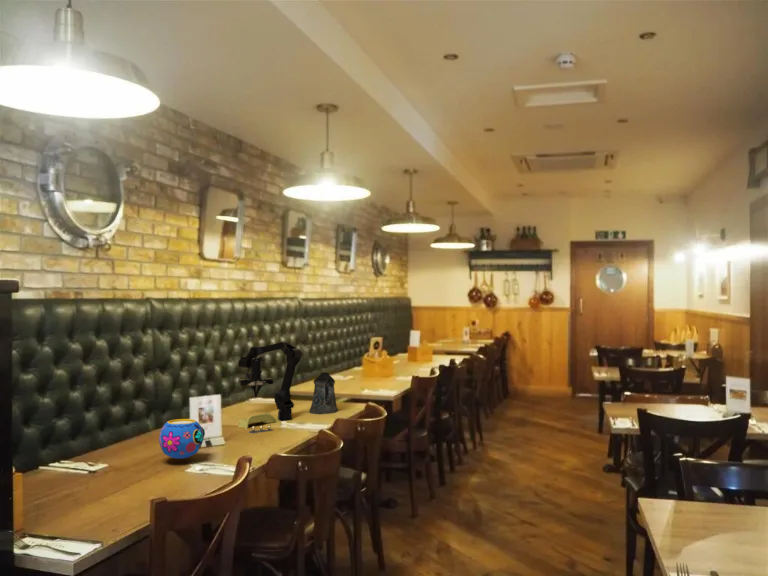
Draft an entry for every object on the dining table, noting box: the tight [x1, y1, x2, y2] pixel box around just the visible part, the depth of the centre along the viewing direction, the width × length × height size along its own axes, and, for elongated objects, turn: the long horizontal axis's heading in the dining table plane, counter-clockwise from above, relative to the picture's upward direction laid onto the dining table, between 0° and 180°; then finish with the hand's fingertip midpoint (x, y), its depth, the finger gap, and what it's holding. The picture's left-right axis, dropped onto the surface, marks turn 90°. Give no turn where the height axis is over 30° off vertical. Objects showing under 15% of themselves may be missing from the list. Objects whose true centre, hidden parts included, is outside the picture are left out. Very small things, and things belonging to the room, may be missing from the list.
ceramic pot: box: [158, 418, 206, 460], centre depth 268 cm, size 18×18×15 cm
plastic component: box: [238, 412, 278, 429], centre depth 340 cm, size 20×7×10 cm
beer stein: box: [308, 372, 339, 415], centre depth 371 cm, size 16×19×25 cm
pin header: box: [248, 424, 274, 434], centre depth 322 cm, size 12×2×3 cm, turn 117°
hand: (255, 397), depth 360 cm, fingers closed
